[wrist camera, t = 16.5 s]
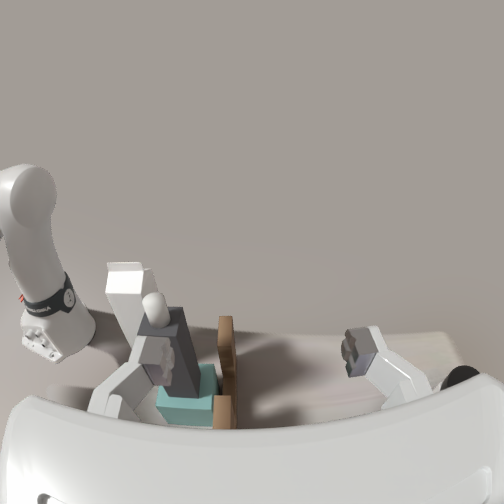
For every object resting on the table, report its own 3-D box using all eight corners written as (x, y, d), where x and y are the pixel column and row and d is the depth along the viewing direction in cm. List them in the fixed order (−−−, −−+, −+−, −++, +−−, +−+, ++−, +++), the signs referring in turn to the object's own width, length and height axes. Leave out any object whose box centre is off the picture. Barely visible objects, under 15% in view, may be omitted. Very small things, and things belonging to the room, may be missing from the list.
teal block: (168, 423, 35) (155, 405, 32) (174, 384, 42) (163, 362, 38) (217, 426, 35) (211, 409, 32) (219, 385, 42) (213, 363, 38)
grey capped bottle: (168, 396, 33) (127, 314, 24) (172, 372, 37) (139, 286, 28) (198, 398, 33) (169, 315, 24) (201, 373, 37) (177, 286, 28)
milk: (171, 370, 45) (135, 275, 33) (141, 368, 45) (97, 275, 33) (175, 345, 50) (147, 250, 38) (147, 344, 50) (113, 251, 38)
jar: (421, 450, 27) (462, 420, 21) (404, 414, 34) (437, 377, 27) (457, 427, 28) (496, 393, 22) (439, 395, 35) (472, 357, 29)
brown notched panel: (223, 460, 30) (212, 438, 24) (225, 358, 47) (219, 316, 41) (237, 460, 30) (230, 439, 24) (236, 358, 47) (232, 316, 41)
